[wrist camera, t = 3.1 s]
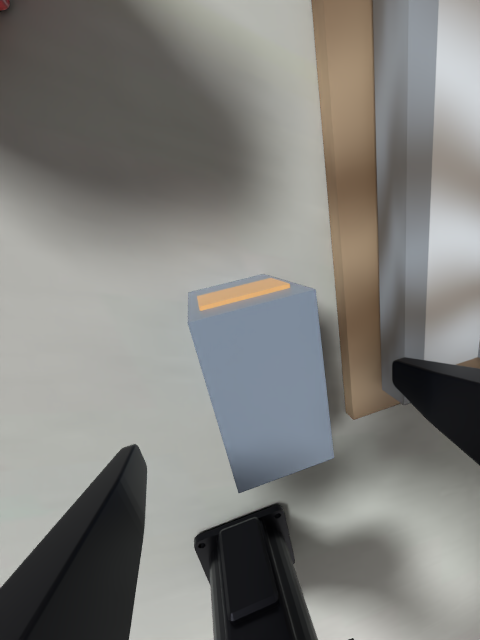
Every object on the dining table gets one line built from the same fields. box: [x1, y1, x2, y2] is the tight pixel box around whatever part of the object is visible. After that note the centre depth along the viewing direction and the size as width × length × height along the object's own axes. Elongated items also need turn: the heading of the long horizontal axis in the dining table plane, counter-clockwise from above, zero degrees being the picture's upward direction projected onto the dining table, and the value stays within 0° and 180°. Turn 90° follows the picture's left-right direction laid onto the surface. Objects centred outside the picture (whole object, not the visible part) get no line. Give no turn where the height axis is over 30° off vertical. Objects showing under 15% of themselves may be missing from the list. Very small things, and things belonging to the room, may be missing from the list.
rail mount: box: [312, 0, 480, 420], centre depth 12 cm, size 26×12×3 cm, turn 12°
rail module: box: [188, 274, 334, 493], centre depth 11 cm, size 7×4×6 cm, turn 12°
